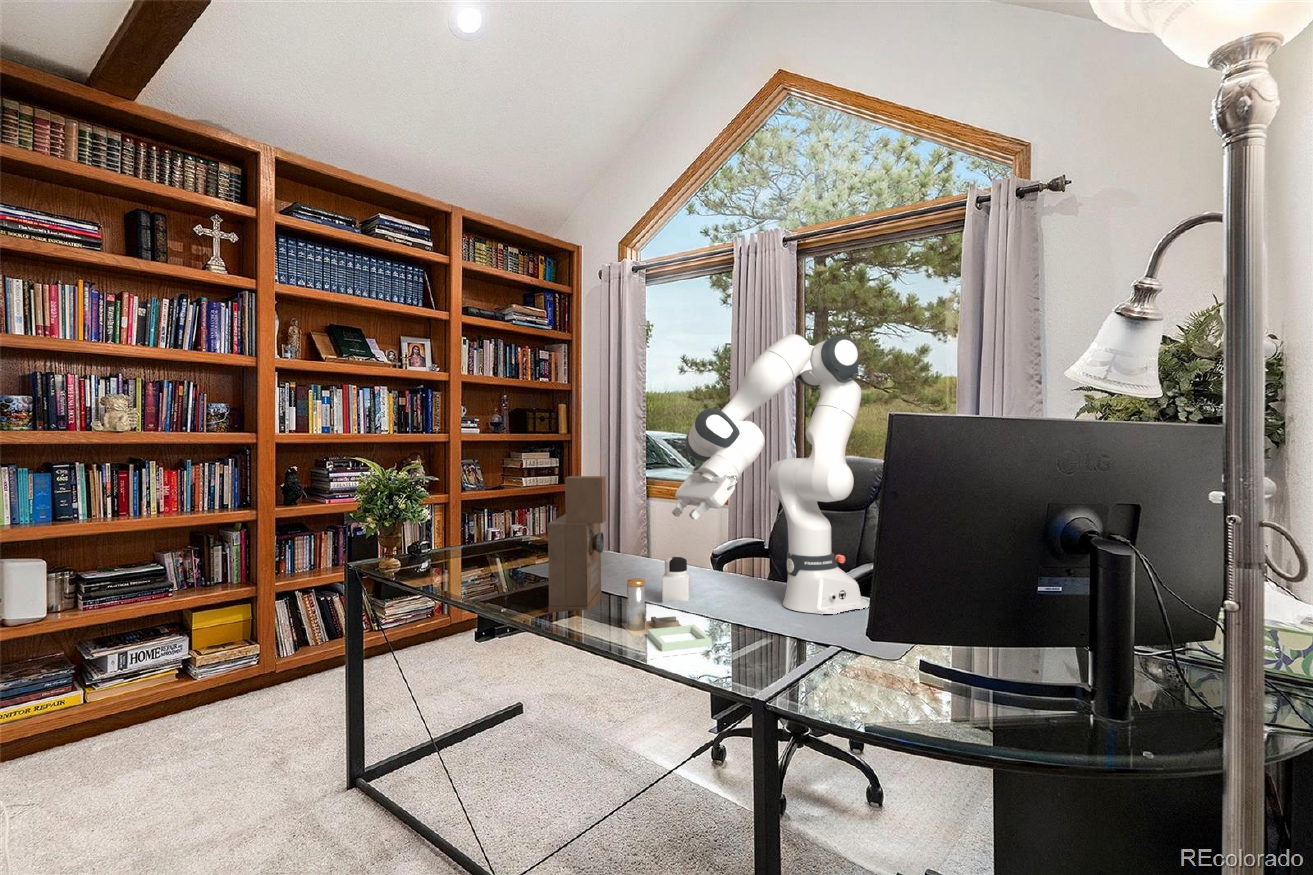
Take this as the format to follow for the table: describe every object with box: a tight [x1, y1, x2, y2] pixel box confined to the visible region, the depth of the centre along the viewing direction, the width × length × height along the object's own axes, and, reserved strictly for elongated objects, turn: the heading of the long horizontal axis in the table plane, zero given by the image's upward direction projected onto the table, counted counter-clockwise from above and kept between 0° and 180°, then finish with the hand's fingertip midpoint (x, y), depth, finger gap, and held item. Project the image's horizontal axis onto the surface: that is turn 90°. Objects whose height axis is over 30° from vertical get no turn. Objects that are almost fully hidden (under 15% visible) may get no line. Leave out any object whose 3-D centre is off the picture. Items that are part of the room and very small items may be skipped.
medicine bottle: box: [661, 556, 691, 604], centre depth 180 cm, size 7×7×12 cm
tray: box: [647, 624, 713, 658], centre depth 143 cm, size 11×11×3 cm
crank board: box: [620, 615, 682, 637], centre depth 154 cm, size 13×10×3 cm
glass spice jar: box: [626, 577, 646, 631], centre depth 152 cm, size 4×4×11 cm
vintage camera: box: [547, 475, 607, 614], centre depth 178 cm, size 19×14×35 cm
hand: (683, 516), depth 159 cm, fingers open, 8 cm apart
